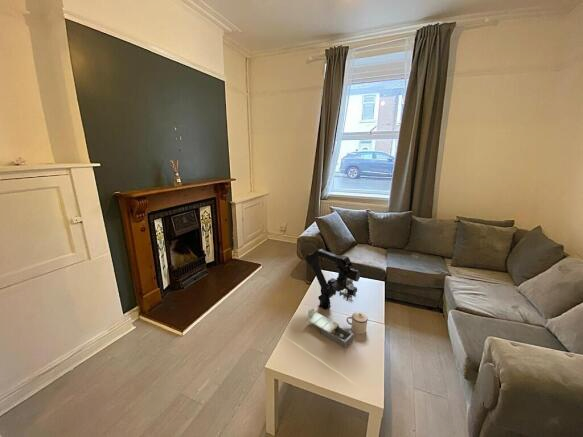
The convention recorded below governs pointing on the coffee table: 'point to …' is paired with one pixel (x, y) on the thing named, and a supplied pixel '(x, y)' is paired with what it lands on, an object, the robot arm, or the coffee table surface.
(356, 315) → the teacup with lid
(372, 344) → the coffee table surface
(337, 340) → the tub
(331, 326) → the lid
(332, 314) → the coffee table surface
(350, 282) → the toy rover
